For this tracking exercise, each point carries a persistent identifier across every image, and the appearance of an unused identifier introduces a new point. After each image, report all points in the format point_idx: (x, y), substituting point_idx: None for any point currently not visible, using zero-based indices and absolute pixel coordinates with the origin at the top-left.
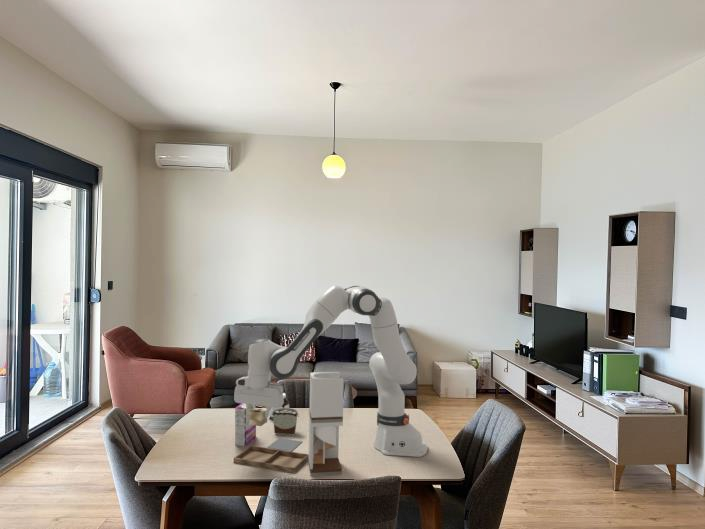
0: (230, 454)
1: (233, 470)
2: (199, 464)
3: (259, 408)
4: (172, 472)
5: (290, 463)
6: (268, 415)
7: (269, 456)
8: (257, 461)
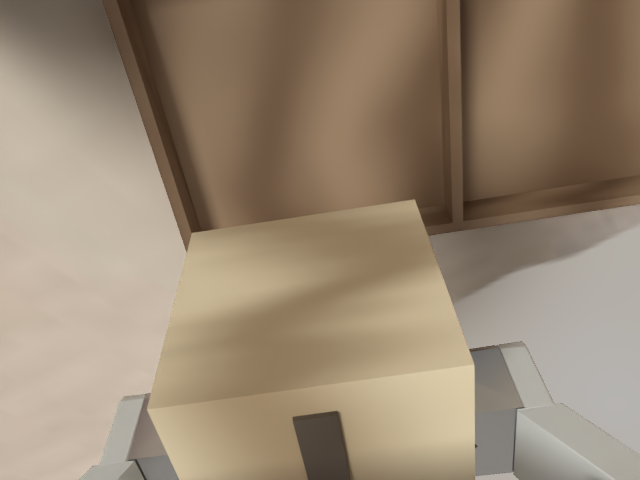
0: (28, 135)
1: None
2: (17, 345)
3: (249, 403)
4: (2, 455)
5: (630, 50)
6: (526, 352)
7: (380, 23)
8: None
